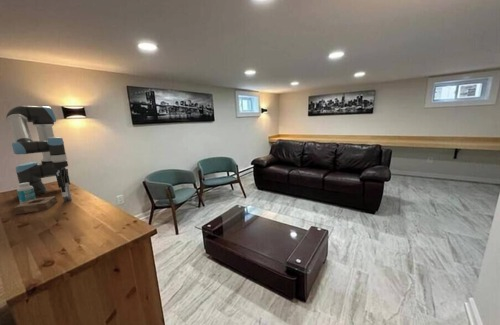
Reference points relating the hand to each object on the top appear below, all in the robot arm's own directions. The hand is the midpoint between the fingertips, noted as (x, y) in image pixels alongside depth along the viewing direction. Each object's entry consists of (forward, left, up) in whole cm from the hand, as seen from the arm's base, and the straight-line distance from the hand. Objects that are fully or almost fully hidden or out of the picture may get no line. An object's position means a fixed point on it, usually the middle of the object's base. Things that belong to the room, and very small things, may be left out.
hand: (66, 195), depth 138 cm
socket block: (+6, -13, -4) cm, 15 cm away
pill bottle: (-8, -23, -4) cm, 25 cm away
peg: (0, 0, -4) cm, 4 cm away
